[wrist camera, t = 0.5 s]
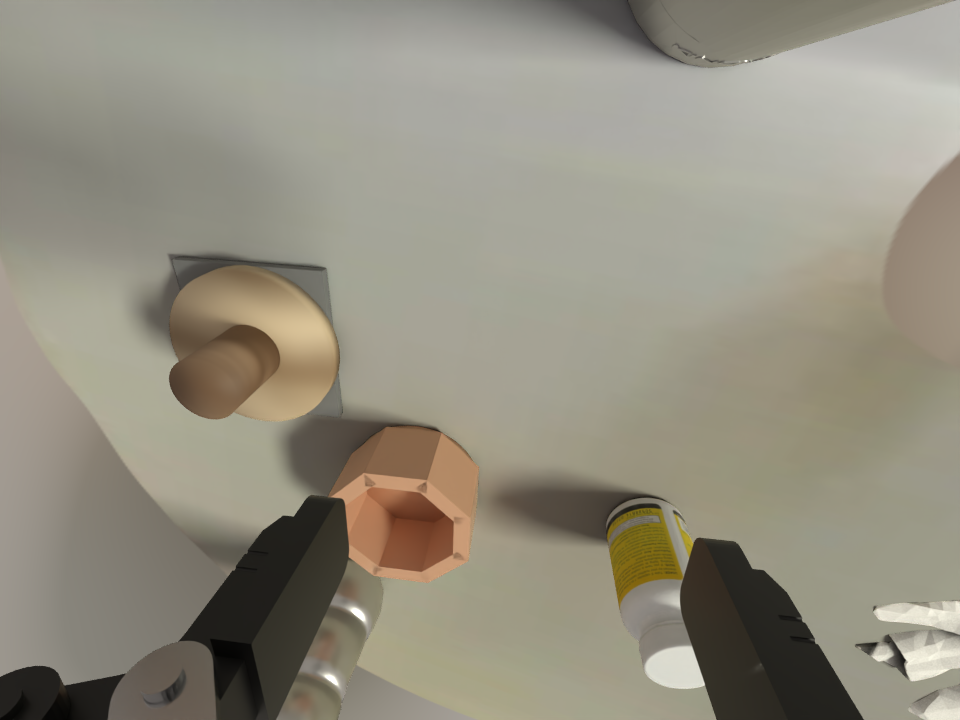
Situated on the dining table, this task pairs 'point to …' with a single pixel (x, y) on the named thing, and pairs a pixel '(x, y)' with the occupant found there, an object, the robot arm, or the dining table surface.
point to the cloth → (924, 652)
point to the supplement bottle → (654, 587)
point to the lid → (250, 346)
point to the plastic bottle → (335, 648)
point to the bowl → (409, 503)
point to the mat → (304, 277)
